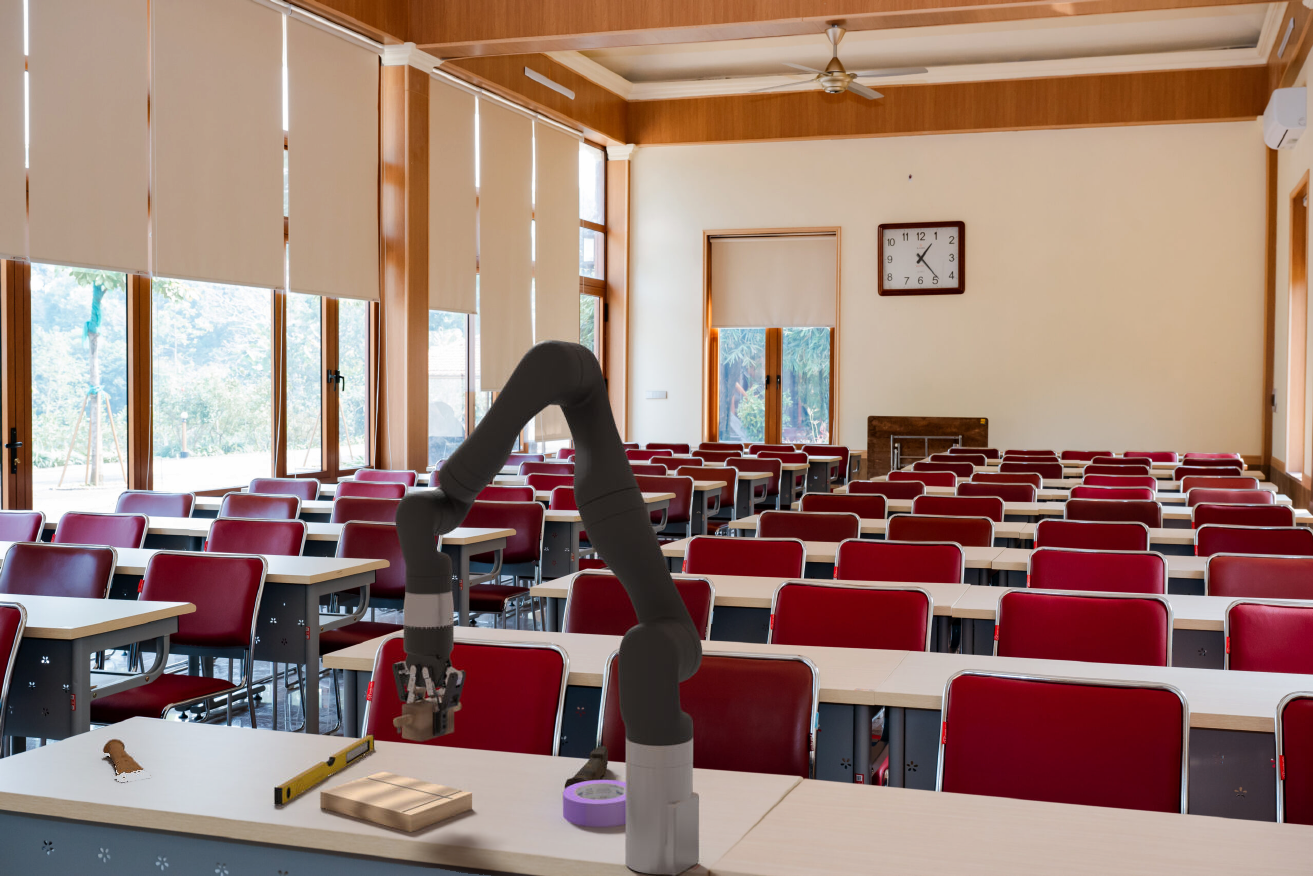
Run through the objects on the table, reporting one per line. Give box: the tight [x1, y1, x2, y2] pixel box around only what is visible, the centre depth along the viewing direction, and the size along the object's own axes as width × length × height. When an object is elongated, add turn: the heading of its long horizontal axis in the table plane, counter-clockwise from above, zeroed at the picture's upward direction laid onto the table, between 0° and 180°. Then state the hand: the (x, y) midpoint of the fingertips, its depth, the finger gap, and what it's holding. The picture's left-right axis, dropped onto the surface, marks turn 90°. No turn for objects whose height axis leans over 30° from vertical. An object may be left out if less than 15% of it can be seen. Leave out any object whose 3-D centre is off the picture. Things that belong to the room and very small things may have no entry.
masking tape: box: [562, 779, 626, 828], centre depth 181 cm, size 12×12×4 cm
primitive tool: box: [102, 738, 144, 778], centre depth 206 cm, size 19×6×4 cm, turn 38°
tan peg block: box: [392, 696, 462, 743], centre depth 180 cm, size 4×13×5 cm, turn 146°
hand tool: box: [563, 745, 609, 791], centre depth 197 cm, size 19×4×5 cm, turn 166°
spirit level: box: [273, 733, 375, 806], centre depth 202 cm, size 33×1×3 cm, turn 168°
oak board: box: [319, 771, 473, 833], centre depth 184 cm, size 20×13×3 cm, turn 56°
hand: (428, 732), depth 180 cm, fingers closed on tan peg block, 4 cm apart
